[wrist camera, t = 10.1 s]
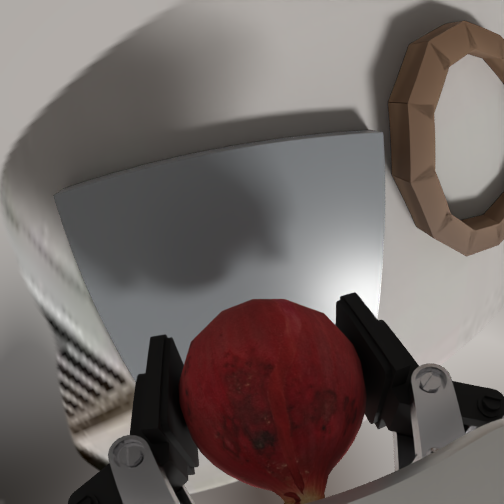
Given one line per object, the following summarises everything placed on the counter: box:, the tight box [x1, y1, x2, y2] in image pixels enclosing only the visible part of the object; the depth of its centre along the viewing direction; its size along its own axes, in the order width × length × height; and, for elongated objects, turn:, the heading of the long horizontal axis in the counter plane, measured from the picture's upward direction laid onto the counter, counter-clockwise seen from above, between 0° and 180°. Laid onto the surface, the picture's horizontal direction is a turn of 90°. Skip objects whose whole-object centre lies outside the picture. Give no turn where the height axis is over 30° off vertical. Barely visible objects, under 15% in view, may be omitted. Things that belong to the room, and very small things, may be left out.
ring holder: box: [388, 21, 504, 256], centre depth 13 cm, size 14×14×2 cm
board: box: [54, 130, 385, 382], centre depth 14 cm, size 14×13×1 cm
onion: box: [178, 299, 366, 504], centre depth 9 cm, size 6×6×8 cm
